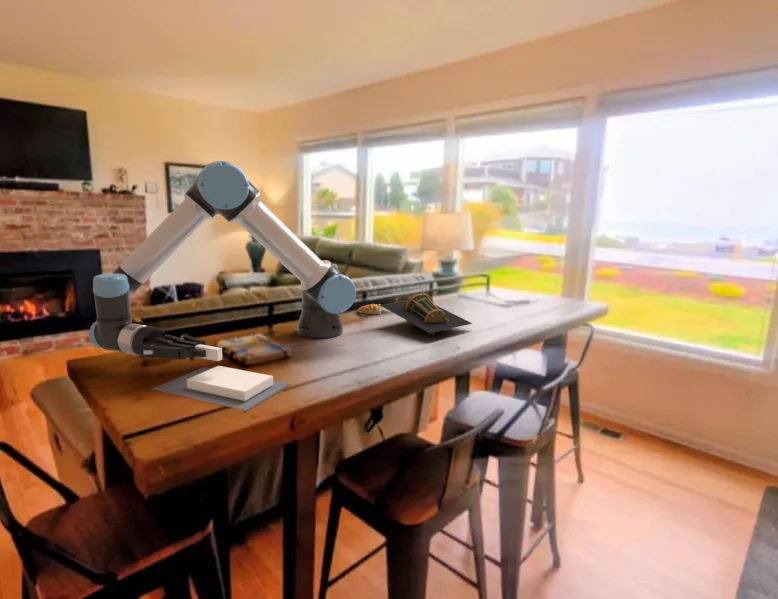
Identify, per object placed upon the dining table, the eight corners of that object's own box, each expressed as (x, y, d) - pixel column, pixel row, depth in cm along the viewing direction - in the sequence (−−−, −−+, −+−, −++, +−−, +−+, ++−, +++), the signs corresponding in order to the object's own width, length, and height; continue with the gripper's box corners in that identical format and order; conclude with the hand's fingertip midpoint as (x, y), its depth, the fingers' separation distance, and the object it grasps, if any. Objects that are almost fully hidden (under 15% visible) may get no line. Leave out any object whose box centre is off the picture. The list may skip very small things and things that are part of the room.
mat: (152, 390, 103) (151, 389, 103) (204, 368, 117) (204, 366, 117) (245, 412, 94) (245, 410, 93) (290, 385, 108) (290, 383, 108)
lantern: (422, 353, 146) (364, 312, 166) (464, 346, 163) (408, 309, 182) (435, 315, 142) (375, 277, 161) (477, 312, 159) (418, 278, 178)
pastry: (357, 314, 180) (357, 305, 179) (358, 311, 187) (358, 301, 186) (381, 315, 180) (381, 305, 180) (381, 311, 187) (381, 302, 186)
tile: (186, 379, 102) (244, 391, 97) (218, 365, 111) (273, 376, 106) (187, 389, 103) (245, 402, 97) (218, 375, 112) (273, 386, 106)
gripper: (166, 348, 119) (239, 361, 111) (121, 363, 107) (199, 379, 99) (164, 320, 118) (238, 331, 109) (118, 332, 106) (197, 346, 97)
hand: (219, 354), depth 104 cm, fingers closed
